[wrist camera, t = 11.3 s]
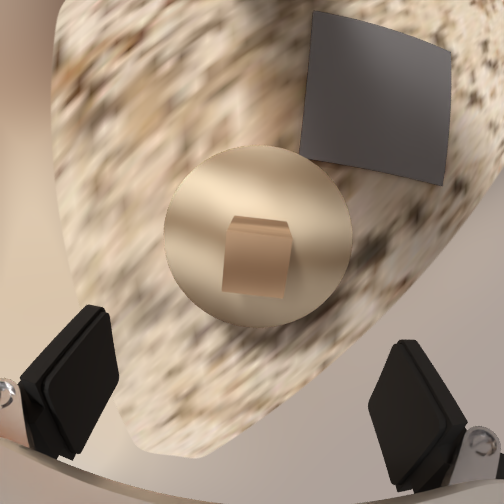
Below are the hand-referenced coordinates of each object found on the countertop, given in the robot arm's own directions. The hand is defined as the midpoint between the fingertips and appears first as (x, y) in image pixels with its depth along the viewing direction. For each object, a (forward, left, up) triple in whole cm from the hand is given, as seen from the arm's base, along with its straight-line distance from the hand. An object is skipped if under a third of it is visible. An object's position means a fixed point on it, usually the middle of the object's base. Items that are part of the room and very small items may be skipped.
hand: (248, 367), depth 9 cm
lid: (0, 0, -16) cm, 16 cm away
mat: (-15, +11, -22) cm, 29 cm away
